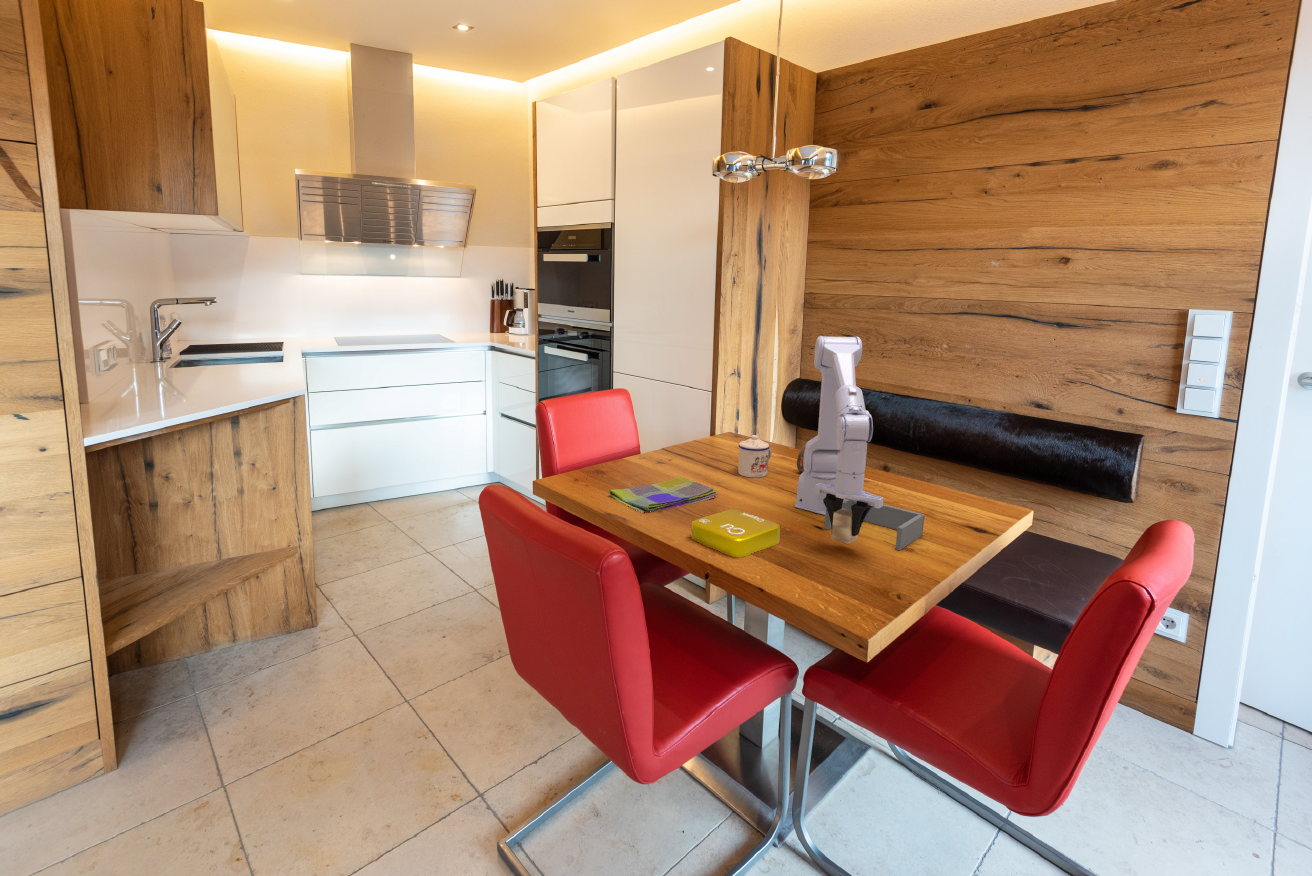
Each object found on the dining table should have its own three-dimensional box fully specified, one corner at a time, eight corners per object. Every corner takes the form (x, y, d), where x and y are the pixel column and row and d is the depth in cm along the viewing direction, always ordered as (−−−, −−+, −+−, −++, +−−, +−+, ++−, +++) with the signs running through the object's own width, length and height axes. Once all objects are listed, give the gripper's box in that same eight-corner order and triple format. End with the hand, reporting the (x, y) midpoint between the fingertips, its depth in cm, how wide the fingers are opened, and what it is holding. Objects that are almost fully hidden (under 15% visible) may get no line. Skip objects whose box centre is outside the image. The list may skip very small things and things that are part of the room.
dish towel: (606, 497, 177) (606, 487, 176) (680, 482, 190) (680, 473, 190) (643, 516, 163) (643, 506, 162) (720, 499, 176) (720, 489, 176)
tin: (817, 464, 210) (819, 438, 208) (827, 466, 208) (829, 439, 206) (794, 474, 199) (796, 446, 197) (804, 476, 197) (806, 448, 195)
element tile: (783, 543, 148) (784, 523, 146) (737, 561, 138) (738, 539, 137) (732, 524, 159) (733, 505, 157) (687, 539, 149) (687, 519, 148)
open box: (824, 528, 155) (825, 508, 154) (849, 515, 164) (851, 496, 163) (899, 550, 144) (902, 528, 142) (922, 535, 153) (924, 514, 151)
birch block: (831, 539, 143) (833, 512, 142) (840, 534, 146) (842, 508, 145) (848, 544, 140) (851, 517, 139) (857, 538, 143) (860, 512, 142)
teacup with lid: (753, 480, 192) (755, 440, 190) (730, 472, 199) (732, 434, 196) (781, 473, 200) (783, 435, 197) (758, 466, 206) (760, 429, 204)
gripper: (809, 467, 142) (805, 527, 145) (875, 482, 132) (868, 546, 135) (826, 461, 147) (821, 519, 150) (890, 474, 137) (883, 537, 140)
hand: (845, 531), depth 143 cm, fingers closed on birch block, 4 cm apart
